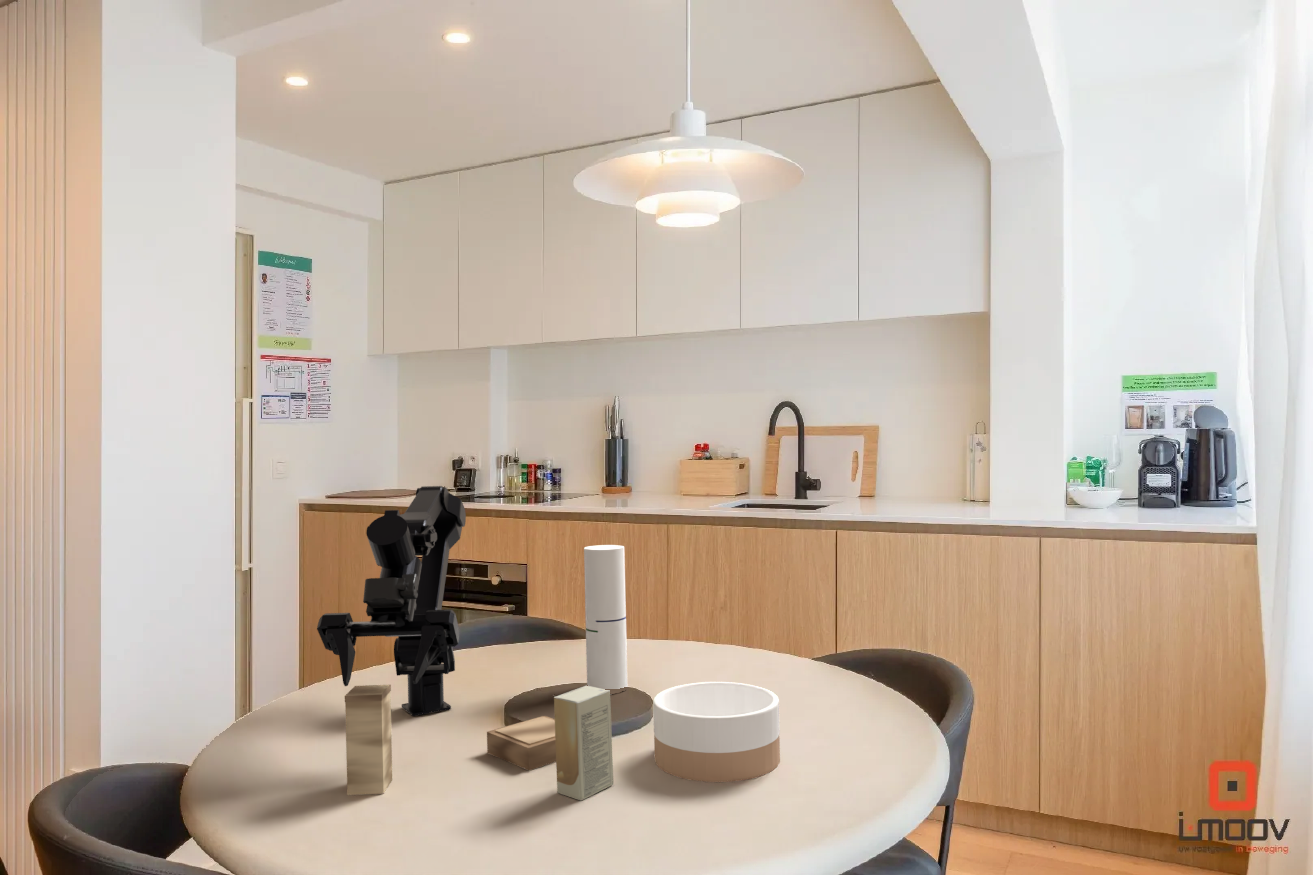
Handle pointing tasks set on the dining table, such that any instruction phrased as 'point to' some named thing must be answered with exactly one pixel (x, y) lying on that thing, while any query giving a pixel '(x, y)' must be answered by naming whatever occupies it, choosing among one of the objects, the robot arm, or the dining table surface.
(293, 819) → the dining table surface
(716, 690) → the bowl
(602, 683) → the cylindrical container
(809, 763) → the dining table surface
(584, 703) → the skincare box
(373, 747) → the oak block
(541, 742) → the plinth
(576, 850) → the dining table surface
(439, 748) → the dining table surface
